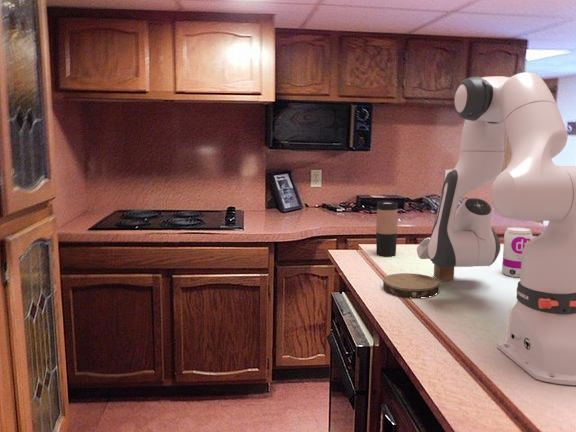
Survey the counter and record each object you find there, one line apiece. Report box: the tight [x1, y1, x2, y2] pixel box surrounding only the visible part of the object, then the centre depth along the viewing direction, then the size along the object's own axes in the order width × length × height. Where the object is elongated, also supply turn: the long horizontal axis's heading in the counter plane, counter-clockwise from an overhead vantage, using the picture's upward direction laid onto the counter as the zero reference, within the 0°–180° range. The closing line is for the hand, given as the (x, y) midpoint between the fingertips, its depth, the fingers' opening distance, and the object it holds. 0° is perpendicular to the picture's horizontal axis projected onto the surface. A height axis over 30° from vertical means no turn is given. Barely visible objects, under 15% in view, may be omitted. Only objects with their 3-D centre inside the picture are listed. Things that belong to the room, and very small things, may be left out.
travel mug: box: [375, 200, 399, 258], centre depth 188 cm, size 8×8×20 cm
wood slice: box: [382, 272, 440, 299], centre depth 148 cm, size 16×16×3 cm
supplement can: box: [501, 226, 534, 279], centre depth 161 cm, size 8×8×15 cm
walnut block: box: [433, 264, 455, 281], centre depth 158 cm, size 5×5×10 cm
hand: (443, 261), depth 158 cm, fingers closed on walnut block, 5 cm apart
